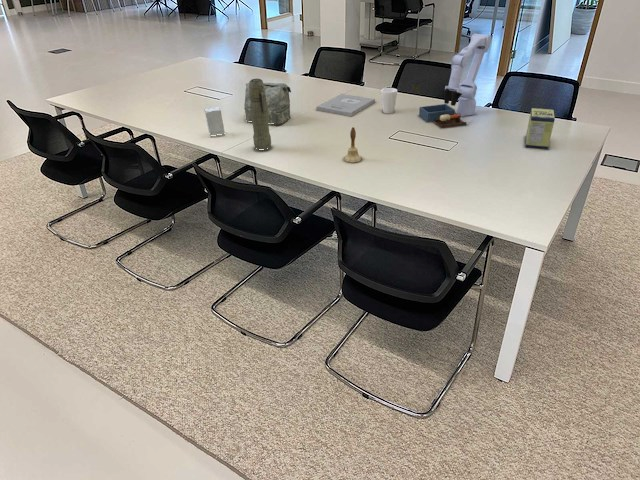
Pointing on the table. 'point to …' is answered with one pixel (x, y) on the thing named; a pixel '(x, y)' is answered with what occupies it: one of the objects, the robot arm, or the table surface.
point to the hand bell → (352, 149)
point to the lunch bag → (272, 102)
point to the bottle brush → (449, 117)
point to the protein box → (540, 128)
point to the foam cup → (388, 99)
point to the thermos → (259, 115)
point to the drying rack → (450, 122)
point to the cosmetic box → (214, 121)
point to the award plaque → (345, 104)
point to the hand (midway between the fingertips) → (449, 104)
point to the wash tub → (435, 112)
